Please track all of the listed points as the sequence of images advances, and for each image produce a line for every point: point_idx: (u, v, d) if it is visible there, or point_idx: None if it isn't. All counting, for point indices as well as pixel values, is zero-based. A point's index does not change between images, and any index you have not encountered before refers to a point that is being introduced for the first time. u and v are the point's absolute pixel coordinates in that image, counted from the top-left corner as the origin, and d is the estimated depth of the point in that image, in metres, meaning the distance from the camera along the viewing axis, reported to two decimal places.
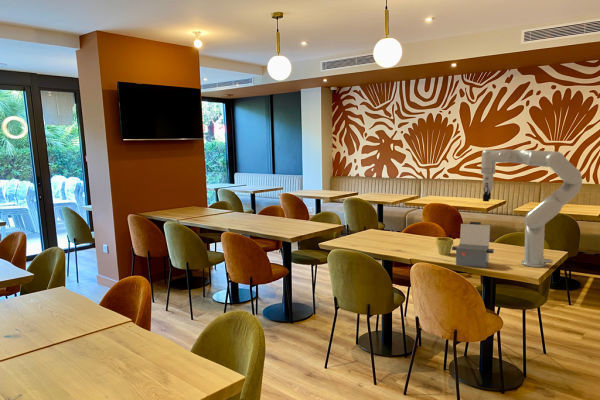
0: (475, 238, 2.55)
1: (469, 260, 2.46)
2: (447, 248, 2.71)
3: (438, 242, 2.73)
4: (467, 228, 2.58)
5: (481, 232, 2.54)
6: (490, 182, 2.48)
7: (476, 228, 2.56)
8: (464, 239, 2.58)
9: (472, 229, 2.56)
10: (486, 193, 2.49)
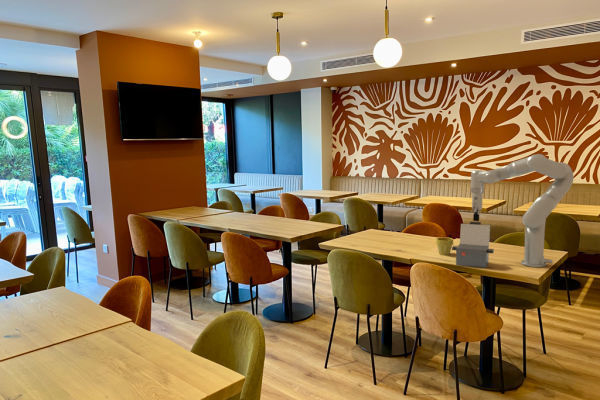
0: (475, 238, 2.55)
1: (469, 260, 2.46)
2: (447, 248, 2.71)
3: (438, 242, 2.73)
4: (467, 228, 2.58)
5: (481, 232, 2.54)
6: (479, 202, 2.57)
7: (476, 228, 2.56)
8: (464, 239, 2.58)
9: (472, 229, 2.56)
10: (476, 213, 2.61)
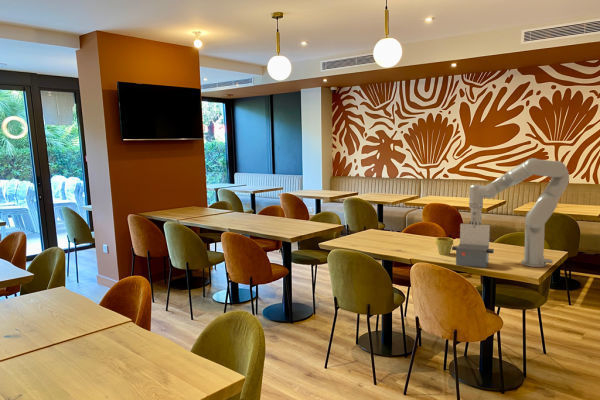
0: (475, 238, 2.55)
1: (469, 260, 2.46)
2: (447, 248, 2.71)
3: (438, 242, 2.73)
4: (467, 228, 2.57)
5: (481, 232, 2.53)
6: (478, 217, 2.53)
7: (476, 228, 2.54)
8: (464, 239, 2.58)
9: (472, 229, 2.55)
10: None
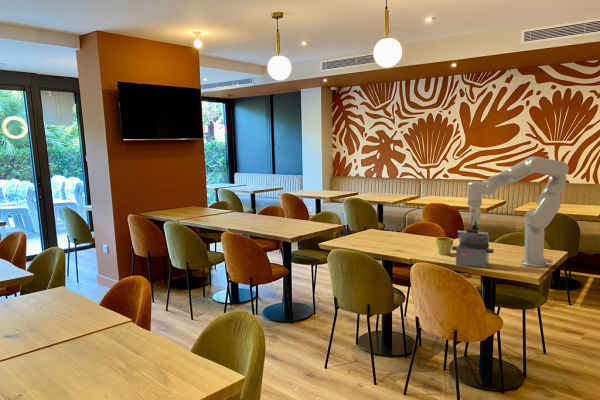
0: (474, 241, 2.52)
1: (469, 260, 2.46)
2: (447, 248, 2.71)
3: (438, 242, 2.73)
4: (465, 234, 2.50)
5: (479, 237, 2.48)
6: (477, 214, 2.46)
7: (474, 235, 2.48)
8: (464, 241, 2.56)
9: (470, 235, 2.50)
10: (474, 227, 2.50)
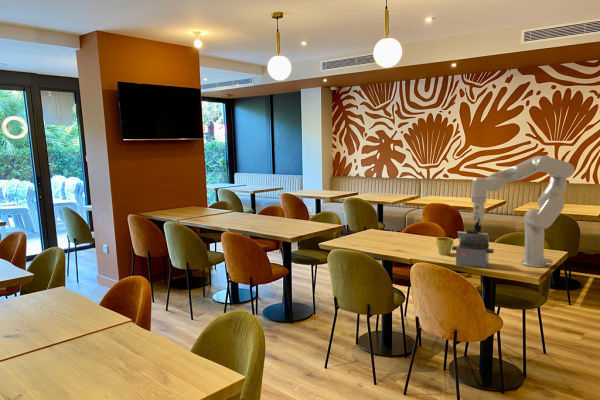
0: (474, 241, 2.52)
1: (469, 260, 2.46)
2: (447, 248, 2.71)
3: (438, 242, 2.73)
4: (464, 235, 2.50)
5: (479, 238, 2.48)
6: (481, 211, 2.40)
7: (474, 236, 2.48)
8: (464, 241, 2.56)
9: (470, 236, 2.49)
10: (477, 224, 2.44)
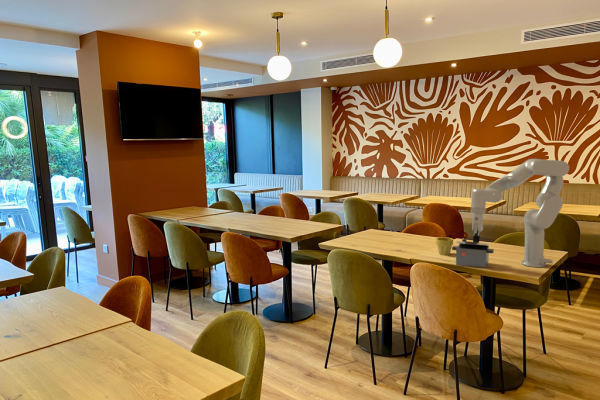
0: None
1: (469, 260, 2.46)
2: (447, 248, 2.71)
3: (438, 242, 2.73)
4: None
5: None
6: (480, 222, 2.40)
7: (473, 244, 2.46)
8: None
9: None
10: (476, 235, 2.45)
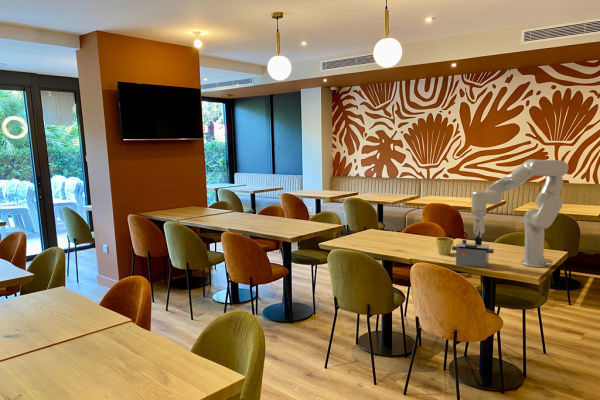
0: None
1: (469, 260, 2.46)
2: (447, 248, 2.71)
3: (438, 242, 2.73)
4: None
5: None
6: (481, 225, 2.41)
7: None
8: None
9: None
10: (478, 237, 2.45)
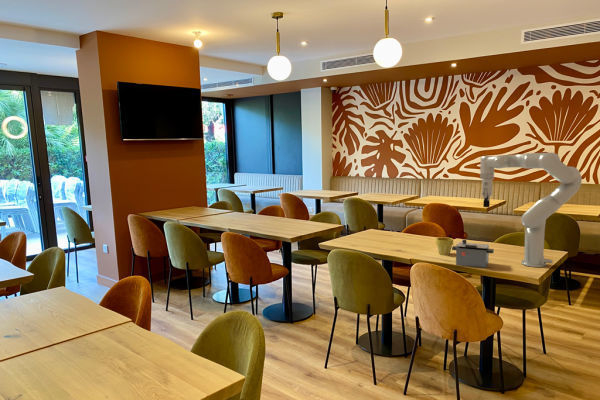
0: None
1: (469, 260, 2.46)
2: (447, 248, 2.71)
3: (438, 242, 2.73)
4: None
5: None
6: (489, 187, 2.54)
7: None
8: None
9: None
10: (486, 199, 2.58)
